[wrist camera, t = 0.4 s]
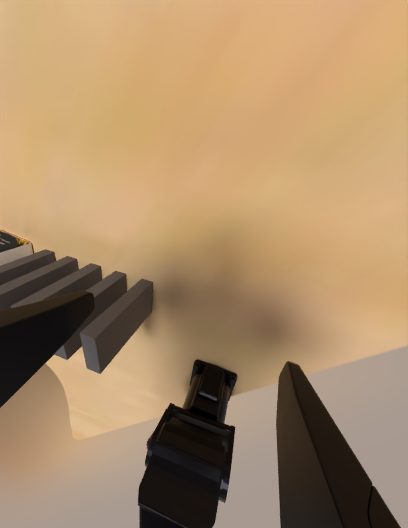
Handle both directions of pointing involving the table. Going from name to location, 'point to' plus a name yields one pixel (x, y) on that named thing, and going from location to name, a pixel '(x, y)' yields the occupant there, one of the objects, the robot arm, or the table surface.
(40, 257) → the domino
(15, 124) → the table surface
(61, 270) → the domino
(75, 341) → the domino
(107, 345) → the domino
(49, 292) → the domino
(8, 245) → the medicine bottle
